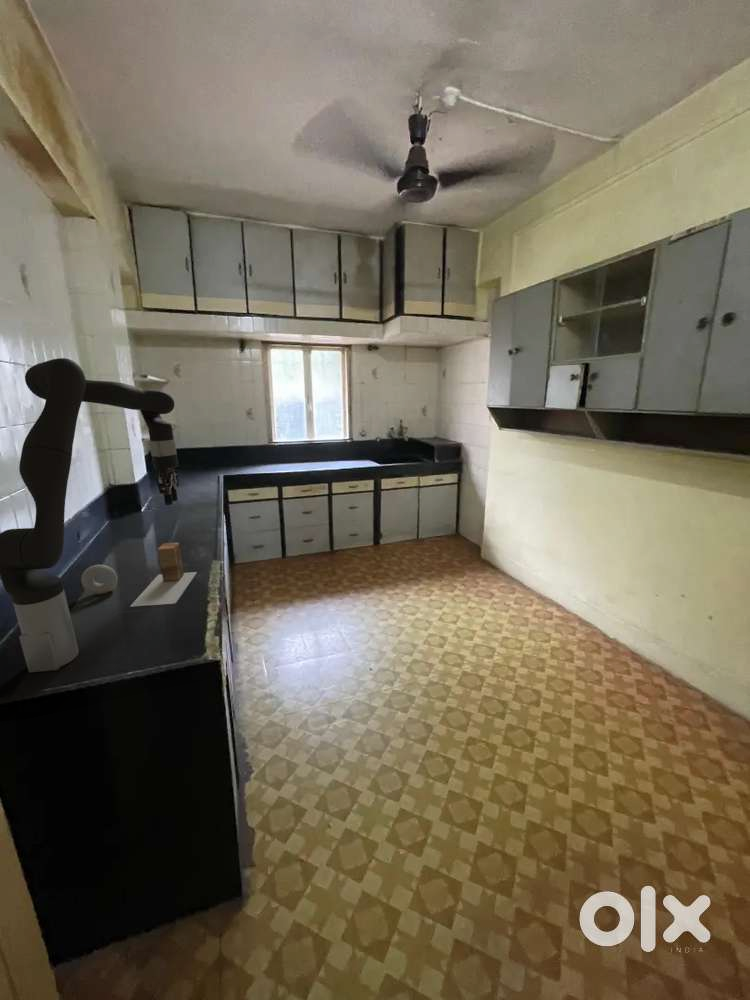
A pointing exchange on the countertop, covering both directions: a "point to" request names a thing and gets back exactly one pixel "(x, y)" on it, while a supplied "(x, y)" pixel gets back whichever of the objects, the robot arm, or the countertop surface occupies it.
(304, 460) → the countertop surface
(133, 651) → the countertop surface
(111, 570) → the donut
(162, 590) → the grey mat
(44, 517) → the robot arm
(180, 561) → the walnut block
